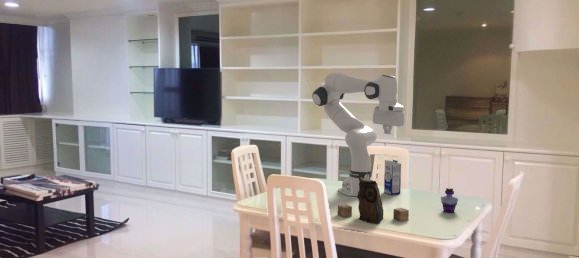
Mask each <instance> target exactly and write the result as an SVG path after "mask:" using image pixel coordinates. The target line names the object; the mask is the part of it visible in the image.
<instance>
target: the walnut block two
mask: <svg viewBox="0 0 579 258" xmlns="http://www.w3.org/2000/svg"><path fill="white" fill-rule="evenodd" d="M392 214H393V218H392V219H393V220H395V221H398V222H406V221H409V219H410V218H409V217H410V209H406V208H404V207H398V208H393V213H392Z"/></svg>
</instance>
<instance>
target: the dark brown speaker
mask: <svg viewBox="0 0 579 258" xmlns="http://www.w3.org/2000/svg"><path fill="white" fill-rule="evenodd" d="M356 197H357V199H358V206H357V207H358V212H359V218H358V220H360V221H362V222H366V223H368V224H376V225H379V224H381V222H382V221H383V220H384V208H383V201H382V197H381V194H380V188H379V186H378V184H377V181H376V180H373V179H372V180H370V179H364V178H361V177H359V192H358V196H356Z"/></svg>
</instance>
